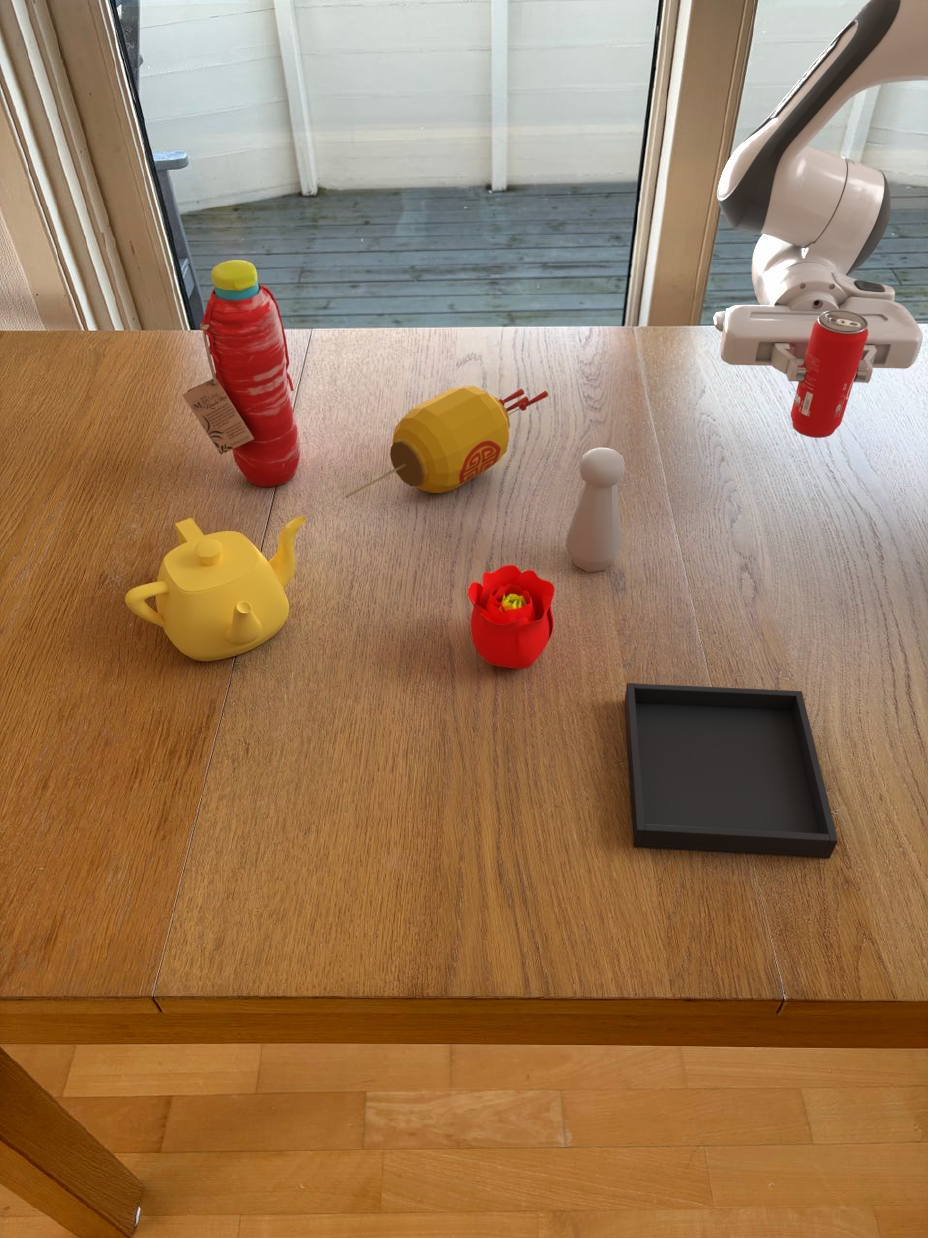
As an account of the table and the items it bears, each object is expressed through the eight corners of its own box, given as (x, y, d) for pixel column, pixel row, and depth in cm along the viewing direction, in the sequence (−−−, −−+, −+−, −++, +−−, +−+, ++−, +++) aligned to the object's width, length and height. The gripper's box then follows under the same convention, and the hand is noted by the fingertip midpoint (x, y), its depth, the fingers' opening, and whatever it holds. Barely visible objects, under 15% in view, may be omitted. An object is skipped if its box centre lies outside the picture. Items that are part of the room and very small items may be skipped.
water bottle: (235, 516, 105) (186, 303, 88) (198, 484, 110) (144, 275, 92) (323, 473, 111) (294, 265, 93) (285, 444, 115) (250, 240, 98)
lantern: (519, 334, 112) (319, 434, 97) (579, 380, 109) (381, 492, 94) (504, 399, 120) (316, 501, 105) (559, 444, 117) (373, 556, 102)
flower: (458, 636, 92) (456, 574, 86) (530, 615, 94) (534, 553, 88) (489, 693, 86) (490, 631, 81) (566, 669, 88) (572, 607, 83)
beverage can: (794, 408, 103) (821, 304, 95) (842, 419, 102) (874, 314, 93) (783, 432, 100) (810, 327, 92) (833, 444, 98) (865, 337, 90)
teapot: (265, 687, 87) (247, 609, 80) (133, 661, 90) (105, 583, 83) (318, 588, 97) (307, 511, 90) (198, 567, 99) (177, 491, 92)
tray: (795, 709, 85) (802, 690, 83) (829, 858, 74) (838, 841, 72) (624, 701, 86) (627, 682, 84) (633, 847, 75) (637, 829, 73)
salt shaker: (626, 574, 98) (641, 470, 89) (572, 581, 97) (582, 476, 88) (610, 538, 102) (624, 436, 93) (558, 545, 101) (566, 442, 92)
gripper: (716, 283, 104) (732, 345, 94) (907, 286, 103) (944, 349, 93) (706, 336, 108) (721, 400, 99) (890, 339, 107) (923, 405, 97)
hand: (831, 376), depth 96 cm, fingers closed on beverage can, 5 cm apart
